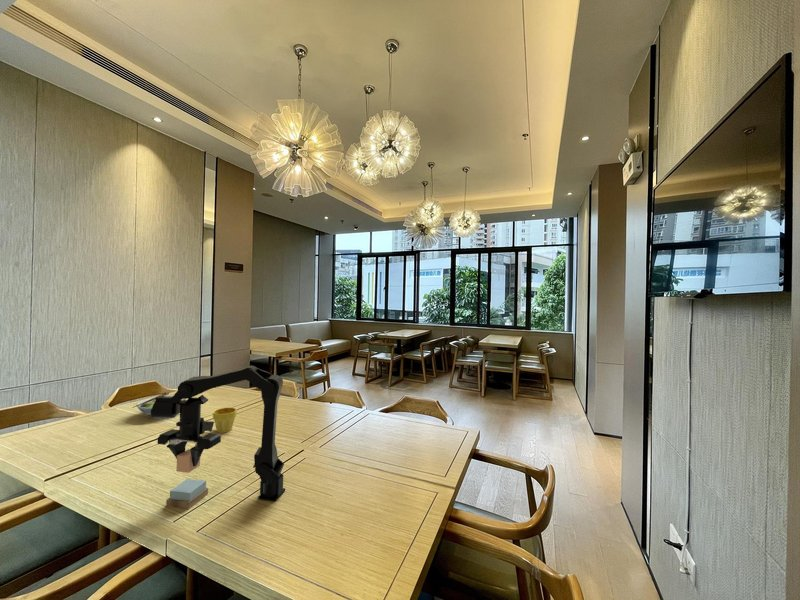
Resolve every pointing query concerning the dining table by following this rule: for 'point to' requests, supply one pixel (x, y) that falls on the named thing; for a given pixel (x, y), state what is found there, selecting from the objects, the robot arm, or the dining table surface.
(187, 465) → the clay block
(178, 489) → the blue slab
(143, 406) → the ramen bowl
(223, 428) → the plant pot
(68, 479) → the dining table surface
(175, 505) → the walnut slab
